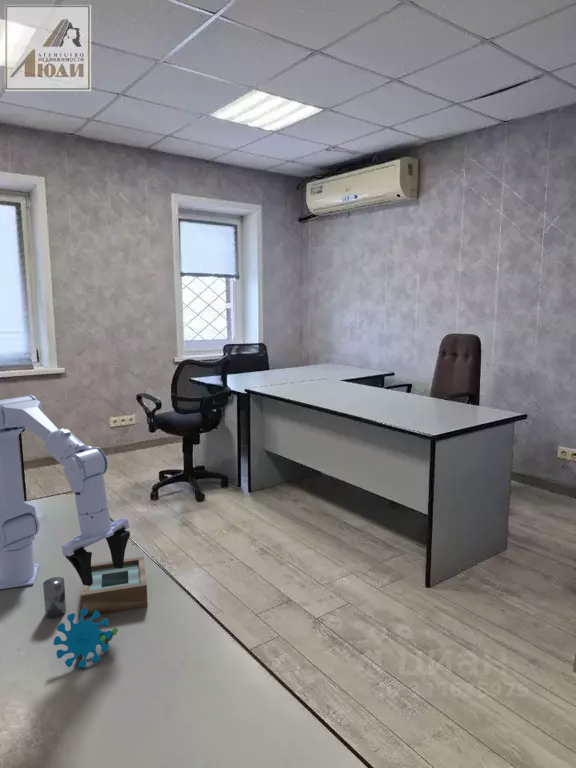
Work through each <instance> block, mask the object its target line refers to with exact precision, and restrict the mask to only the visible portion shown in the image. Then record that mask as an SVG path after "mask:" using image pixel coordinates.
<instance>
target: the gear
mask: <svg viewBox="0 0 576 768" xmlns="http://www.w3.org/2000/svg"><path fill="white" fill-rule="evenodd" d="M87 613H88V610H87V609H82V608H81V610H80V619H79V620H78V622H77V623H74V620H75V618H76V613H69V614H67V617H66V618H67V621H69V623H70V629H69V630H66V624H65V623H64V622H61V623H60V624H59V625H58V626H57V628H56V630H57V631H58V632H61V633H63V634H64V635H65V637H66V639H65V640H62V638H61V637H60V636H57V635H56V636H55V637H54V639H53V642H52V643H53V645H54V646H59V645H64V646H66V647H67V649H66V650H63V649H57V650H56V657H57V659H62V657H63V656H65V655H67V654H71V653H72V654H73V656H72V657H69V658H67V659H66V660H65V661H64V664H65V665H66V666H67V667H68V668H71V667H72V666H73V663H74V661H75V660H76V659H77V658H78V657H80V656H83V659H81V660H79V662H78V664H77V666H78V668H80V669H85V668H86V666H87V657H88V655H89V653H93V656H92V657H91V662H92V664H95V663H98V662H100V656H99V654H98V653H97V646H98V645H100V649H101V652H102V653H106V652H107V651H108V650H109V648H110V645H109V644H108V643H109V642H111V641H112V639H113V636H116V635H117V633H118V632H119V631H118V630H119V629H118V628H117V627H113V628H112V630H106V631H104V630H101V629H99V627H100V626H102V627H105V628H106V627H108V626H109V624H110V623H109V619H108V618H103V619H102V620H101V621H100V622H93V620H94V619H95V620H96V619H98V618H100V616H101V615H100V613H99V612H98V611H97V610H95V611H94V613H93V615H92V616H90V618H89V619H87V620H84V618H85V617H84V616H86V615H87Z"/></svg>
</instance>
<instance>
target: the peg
mask: <svg viewBox="0 0 576 768" xmlns="http://www.w3.org/2000/svg"><path fill="white" fill-rule="evenodd" d="M42 586H43V587H42V588H43V600H44V601H43V602H44V615H45V617H46V618H47V619H51V620H52V619H57V618H58V619H59V618H60V617H62V616H64V615H65V614H66V613H67V604H66V587H65V578H64V577H61V576H55V577H50V578H48V579H46V580H45V581H43V583H42Z"/></svg>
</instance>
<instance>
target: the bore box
mask: <svg viewBox="0 0 576 768" xmlns="http://www.w3.org/2000/svg"><path fill="white" fill-rule="evenodd" d="M91 572H92V578H93V584H92V585H91V586H86V585H83V584H82V587H81V610H82V609H87V610H88V613H87V615H86V616H84V617H83V618H87V617H88V618H89V617H92V615H93V613H94V611H95V610H97V611H98V612H99V613H100V616H101V615H106V614H111V612H113V613H117V612H124V611H129V609H130V610H134V609H133V608H136V609H141V608H140V607H142V608H146V607H145V606H148V586H147V584H148V583H147V576H146V567H145V557H144V556H139V557H138V556H137V557H133V558H124V563H123V568H121V569H119V568H114V566H113V562H112V560H111V561H102V562H97V563H91ZM123 610H124V611H123Z"/></svg>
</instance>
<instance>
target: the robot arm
mask: <svg viewBox="0 0 576 768" xmlns="http://www.w3.org/2000/svg"><path fill="white" fill-rule="evenodd" d="M24 429H27V430H29V431H30V432H31V433H33V434H34V435H35V436H37V437H38V439H39V438H40V439H41V440H42V441H44V442H45V443H44V444H45V445H44V448H45V451H46V452H47V453H48V454H49V455H51V457H53V458H54V459H55V460H56V461H57V462H58V463H59V464H60V465H62V466H63V467H64V468H63V473H64V475H65V478H66V480H68V483H69V487H70V490H71V491H72V492H74V494H73V495H74V498H75V499H74V500H75V504H76V511H77V517H78V522H79V524H78V525H79V528H80V534H78V535H77V536H75V537H74V538H72V539H71V540H69V541H68V542H66V543H64V544H62V545H61V549H62V550H61V551H62V555H63V556H64V557H65V558H66V560H68V561H69V562H70V564H71V565H72V567H74V569H75V571H76V572H77V574H78V576H79V579H80V580H81V583H82V586H83V585H86V586H91V585H92V584H93V578H92V572H91V564H92V555H93V552H92V551H87V549H85V548H86V547H89V546H91V545H93V544H95V543H97V542H101V540H103V539H104V540H106V542H107V543H106V544H107V545H108V547H109V548H108V549H109V551H110V557H111V561H112V562H113V566H114V568H119V569H121V568H123V563H124V559H125V551H126V548H127V545H128V541H129V539H130V537H131V532H130V531H129V530H128V529H129V528H130V524H129V519H128V518H119V519H117V520H115V521H112V522H111V516H110V511H109V504H108V498H107V492H106V485H105V480H104V479H105V478H104V474H106V473H107V470H108V467H109V462H108V458H107V456H106V454H105V452H104V451H103V449H101V447H99V446H92V445H89V446H88V445H86V444H85V443H84V442H82V441H81V440H80V439H79V438H78V437H77V436H76V435H74V433H72V431H70V430H69V429H67V428H61V429H59V428H58V427H57V426H56V425H55V423H53V421H51V419H49V417H48V416H47V415H46V414H45V413H44V412H43V407H42V403H41V401H40V400H38V398H36V396H34V395H33V394H28V395H24V396H18V397H11V398H5V399H0V590H5V589H10V588H16V587H25V586H26V587H27V586H31V585H32V586H33V585H34V584H35V581H36V577H37V574H38V570H39V566H40V563H36V562H35V553H34V551H35V550H34V541H35V540H36V537H35V536H37V534H38V533H39V531H40V526H41V525H40V524H41V523H40V520H39V517H38V515H37V511H36V506H35V505H33V504H31V503H29V502H27V501H25V498H24V497H25V495H24V489H23V480H22V479H23V478H22V470H21V461H20V451H19V441H18V437H19V435H20V434H21V433H22V432H23V431H24Z"/></svg>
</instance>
